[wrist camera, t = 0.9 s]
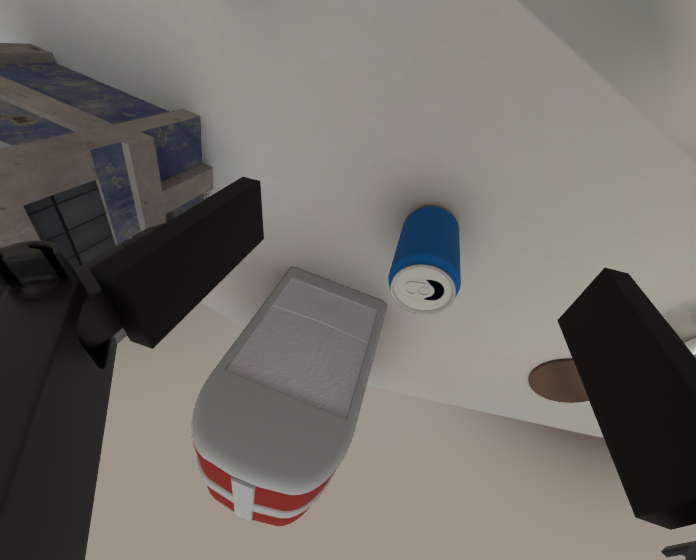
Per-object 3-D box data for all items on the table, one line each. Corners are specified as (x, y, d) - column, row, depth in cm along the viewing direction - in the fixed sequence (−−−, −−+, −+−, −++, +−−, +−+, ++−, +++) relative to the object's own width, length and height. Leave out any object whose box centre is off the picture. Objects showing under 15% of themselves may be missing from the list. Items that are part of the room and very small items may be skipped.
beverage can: (453, 255, 36) (453, 323, 27) (401, 249, 38) (384, 312, 29) (463, 205, 32) (468, 266, 23) (405, 201, 34) (387, 256, 25)
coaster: (581, 349, 39) (582, 351, 39) (627, 387, 41) (628, 390, 41) (514, 374, 45) (514, 376, 45) (555, 406, 47) (556, 409, 47)
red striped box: (279, 333, 56) (181, 493, 36) (288, 264, 45) (151, 443, 24) (359, 364, 55) (305, 548, 35) (389, 303, 44) (335, 522, 23)
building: (214, 264, 50) (83, 381, 32) (87, 209, 50) (-110, 295, 32) (211, 121, 34) (-41, 193, 17) (29, 43, 35) (-401, 35, 17)
